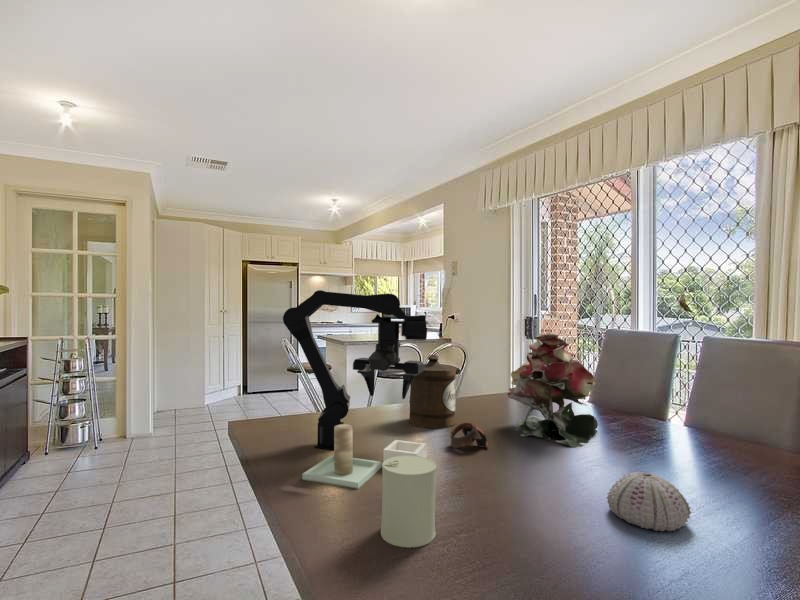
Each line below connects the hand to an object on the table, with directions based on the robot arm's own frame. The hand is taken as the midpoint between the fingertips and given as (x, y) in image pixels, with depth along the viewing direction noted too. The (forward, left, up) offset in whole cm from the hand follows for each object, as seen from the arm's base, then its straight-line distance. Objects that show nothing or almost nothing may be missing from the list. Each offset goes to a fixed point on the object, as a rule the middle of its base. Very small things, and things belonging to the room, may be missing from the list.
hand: (387, 397), depth 122 cm
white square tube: (+10, -14, -13) cm, 21 cm away
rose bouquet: (+41, +33, -13) cm, 54 cm away
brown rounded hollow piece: (+22, +6, -13) cm, 26 cm away
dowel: (-1, -24, -12) cm, 27 cm away
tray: (-1, -24, -13) cm, 27 cm away
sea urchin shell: (+59, -21, -13) cm, 64 cm away
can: (+20, -42, -13) cm, 48 cm away
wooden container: (+5, +28, -13) cm, 31 cm away
